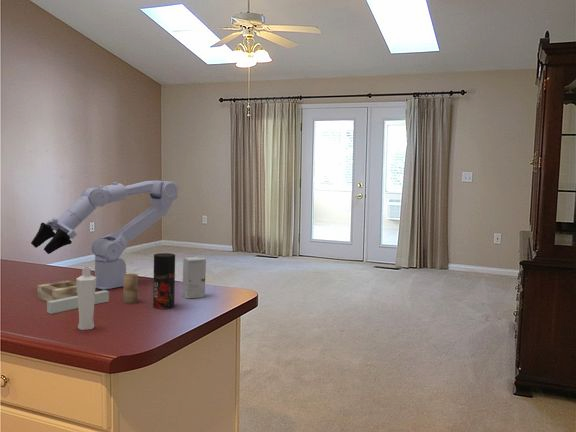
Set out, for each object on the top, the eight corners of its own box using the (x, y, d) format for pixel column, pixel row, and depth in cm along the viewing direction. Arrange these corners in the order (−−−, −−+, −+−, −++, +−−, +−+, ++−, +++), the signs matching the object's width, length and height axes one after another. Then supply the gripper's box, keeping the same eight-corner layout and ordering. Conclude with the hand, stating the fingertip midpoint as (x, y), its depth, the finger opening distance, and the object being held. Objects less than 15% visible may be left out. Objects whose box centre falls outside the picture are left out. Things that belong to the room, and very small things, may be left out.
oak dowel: (131, 299, 156) (131, 273, 155) (140, 301, 154) (140, 275, 153) (120, 301, 153) (120, 274, 152) (129, 304, 150) (129, 277, 150)
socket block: (68, 292, 161) (68, 280, 160) (87, 298, 155) (88, 285, 155) (37, 298, 153) (37, 285, 152) (56, 304, 147) (56, 290, 147)
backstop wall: (104, 300, 154) (104, 290, 153) (108, 301, 153) (109, 291, 152) (46, 312, 139) (46, 301, 139) (51, 313, 138) (51, 302, 138)
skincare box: (187, 299, 158) (188, 260, 157) (181, 296, 162) (182, 257, 161) (205, 297, 162) (206, 258, 161) (199, 294, 166) (200, 256, 165)
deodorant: (178, 305, 151) (179, 254, 150) (167, 310, 146) (167, 257, 144) (160, 302, 153) (161, 252, 152) (148, 307, 148) (149, 255, 146)
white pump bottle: (79, 324, 130) (79, 265, 128) (97, 324, 130) (97, 265, 129) (73, 330, 125) (73, 269, 124) (91, 330, 126) (92, 269, 124)
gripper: (53, 203, 163) (19, 233, 156) (78, 212, 154) (43, 245, 148) (66, 218, 167) (34, 249, 161) (91, 228, 159) (58, 261, 152)
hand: (39, 248), depth 155 cm, fingers open, 7 cm apart
